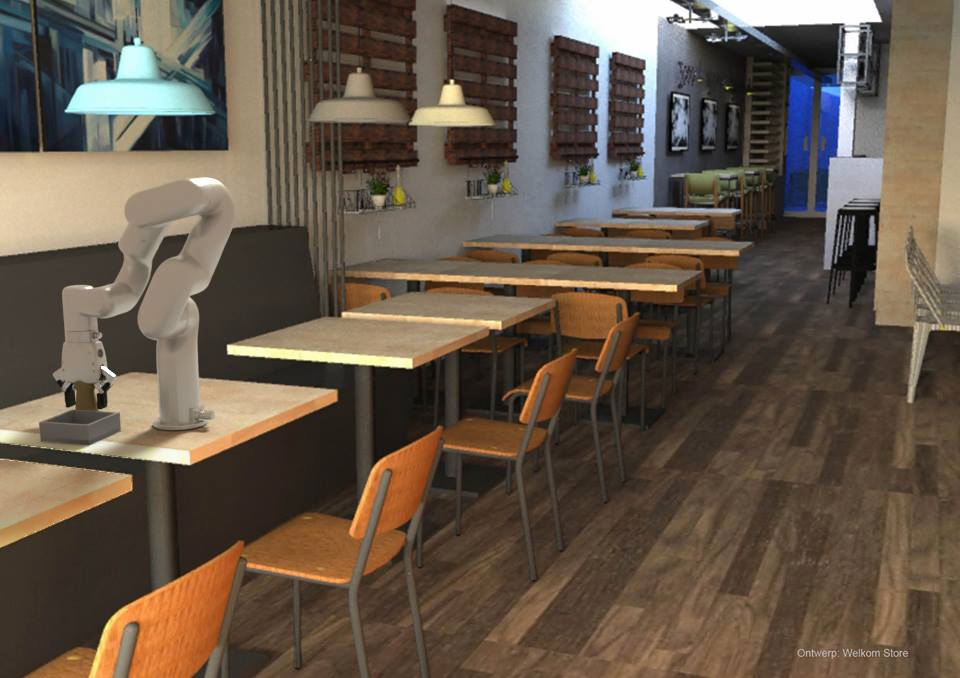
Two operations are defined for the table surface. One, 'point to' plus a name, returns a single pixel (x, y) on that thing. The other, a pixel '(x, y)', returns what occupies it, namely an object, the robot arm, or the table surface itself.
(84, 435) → the box
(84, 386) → the cork
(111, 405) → the table surface
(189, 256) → the robot arm
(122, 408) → the table surface
